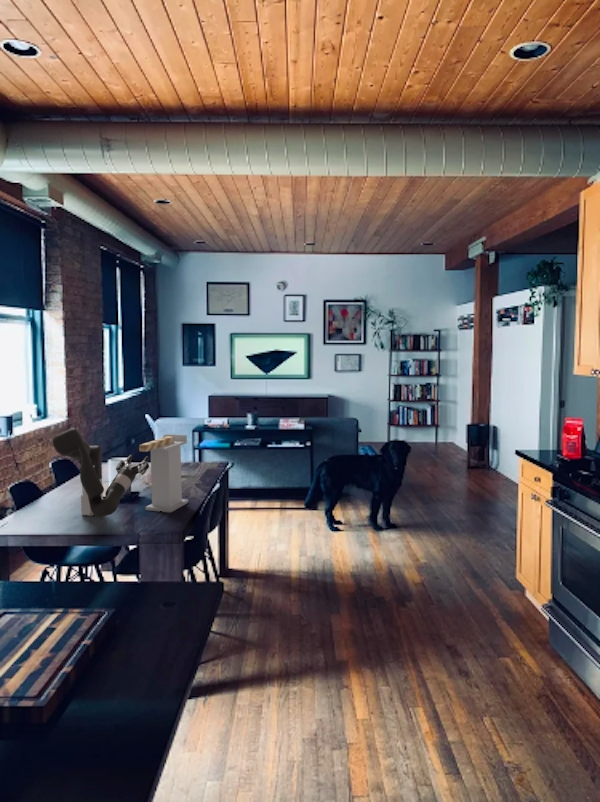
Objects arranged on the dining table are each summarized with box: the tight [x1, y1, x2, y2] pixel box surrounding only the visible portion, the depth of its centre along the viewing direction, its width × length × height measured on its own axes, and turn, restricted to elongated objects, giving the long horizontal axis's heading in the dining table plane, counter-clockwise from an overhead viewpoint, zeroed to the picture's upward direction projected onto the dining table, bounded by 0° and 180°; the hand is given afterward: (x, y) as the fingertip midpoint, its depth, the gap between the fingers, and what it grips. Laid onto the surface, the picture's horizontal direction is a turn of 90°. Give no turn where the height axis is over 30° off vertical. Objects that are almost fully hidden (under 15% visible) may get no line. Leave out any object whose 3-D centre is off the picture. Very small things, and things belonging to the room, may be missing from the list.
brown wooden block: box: [138, 436, 174, 453], centre depth 295 cm, size 26×4×3 cm, turn 163°
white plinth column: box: [144, 433, 189, 513], centre depth 305 cm, size 22×14×35 cm, turn 163°
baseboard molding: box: [102, 480, 109, 497], centre depth 338 cm, size 31×3×12 cm
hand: (139, 456), depth 281 cm, fingers open, 8 cm apart
